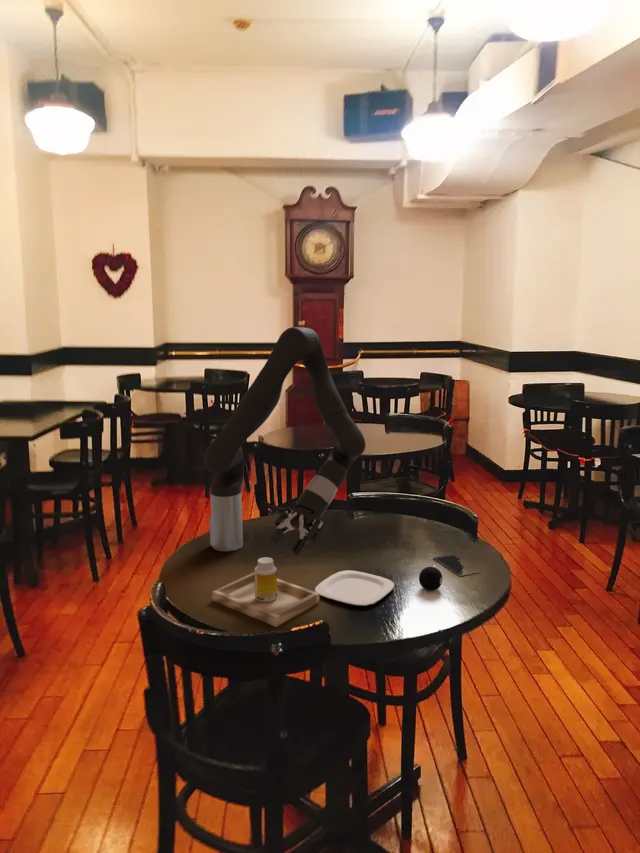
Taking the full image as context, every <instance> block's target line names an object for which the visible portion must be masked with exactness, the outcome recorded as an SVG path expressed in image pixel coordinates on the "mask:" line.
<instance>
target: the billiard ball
mask: <svg viewBox="0 0 640 853" xmlns="http://www.w3.org/2000/svg"><path fill="white" fill-rule="evenodd" d="M443 578H444V577H443V575H442V572H441V571H440V570H439V569H438V568H437V567H434V566H426V567H424V568H422V570H421V571H420V573H419V575H418V580H419V581H418V582H419V584H420V586H421V588H423V589H424V590H426V591H436V590H438V589H439V588H440V587H441V586H442V583H443Z"/></svg>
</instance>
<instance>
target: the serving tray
mask: <svg viewBox="0 0 640 853" xmlns="http://www.w3.org/2000/svg"><path fill="white" fill-rule="evenodd" d="M211 595H212V597H211V598H212V599H211V600H212V602H215V603H217V604H219V605H222V606H224V607H227V608H229V609H232V610H235V611H236V612H239V613H241V614H244V615H246V616H248V617H250V618H254V619H256V620H258V621H261V622H263V623H266V624H268V625H271V626H273V627H275V628H278V627H279V626H281V625H283V624H284V623H286V622H288V621H289V620H291V619H293V618H295V617H296V616H299V615H300V614H302V613H304V612H305V611H308V610H309V609H310V608H313V607H314V606H316V605H318V604H320V595H319V593H317V592H315V590H312V589H308V588H306V587H303V586H300V585H298V584H294V583H291V582H288V581H286V580H283V579H280V578H277V598H276V599H275V600H273V601H271V602H260V601H258V600H257V599H256V598H255V571H253V572H251V573H249V574H246V575H244V576H243V577H241V578H238V579H236V580H234V581H232V582H230V583H227V584H225V585H224V586H221V587H219V588H216V589H215V590H213V591H211Z"/></svg>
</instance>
